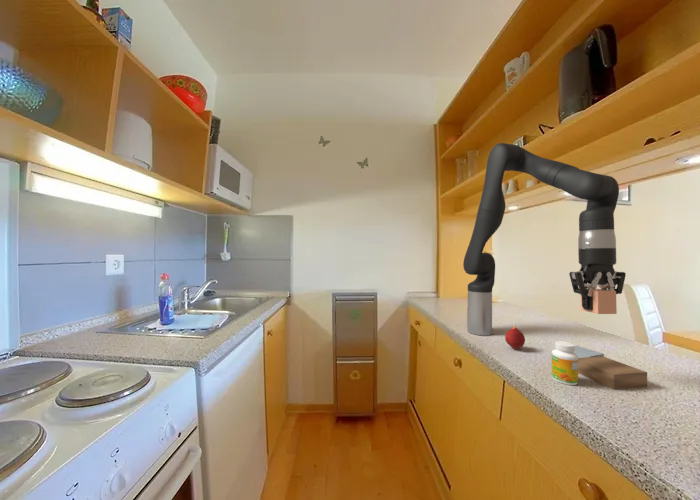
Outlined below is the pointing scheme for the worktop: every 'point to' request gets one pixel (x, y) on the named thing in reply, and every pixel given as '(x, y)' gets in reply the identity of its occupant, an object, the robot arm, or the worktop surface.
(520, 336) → the red oval lump
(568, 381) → the supplement bottle
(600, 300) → the terracotta block
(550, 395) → the worktop surface
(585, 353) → the slate block
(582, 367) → the walnut block
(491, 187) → the robot arm
